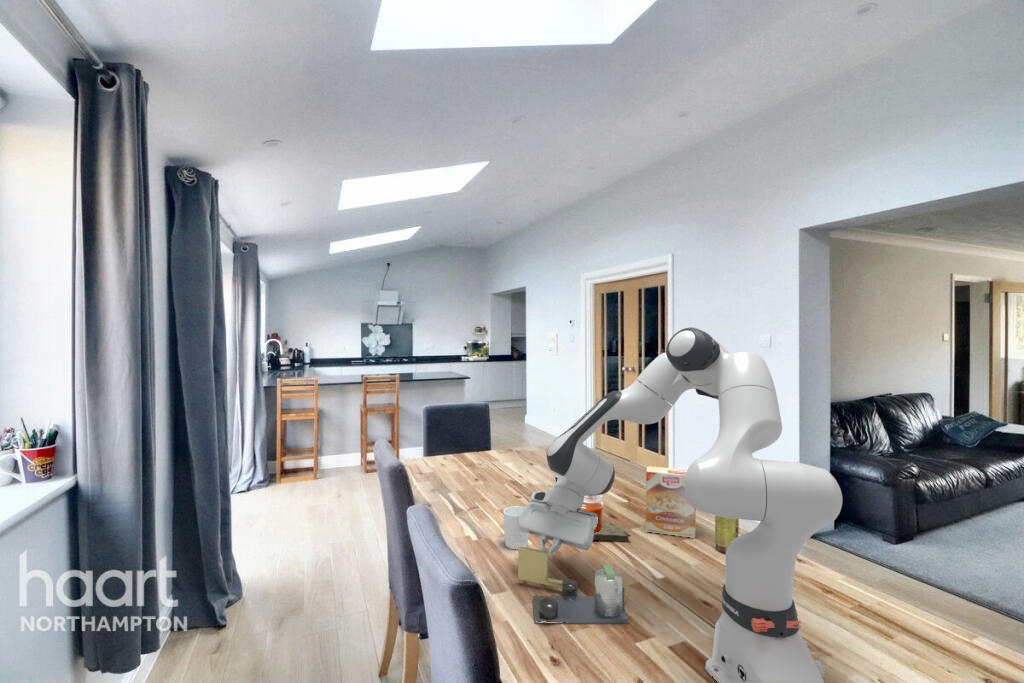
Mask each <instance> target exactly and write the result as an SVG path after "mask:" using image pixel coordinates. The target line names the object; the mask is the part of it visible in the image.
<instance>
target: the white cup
mask: <svg viewBox="0 0 1024 683" xmlns="http://www.w3.org/2000/svg"><path fill="white" fill-rule="evenodd" d="M524 508H525V506H518V505H517V506H508V507H506V508H504V509H503V530H504V531H503V533H504V545H505V547H506V548H508V549H511V550H515V549H516V550H517V551H518V548H519V547H520V546H521V547H527V548H528V546H529V536H530V534H528V533H524V532H522V531H521V529H520V528H519V526H518V520H519V517H520V515H521V513H522V511H523V509H524Z"/></svg>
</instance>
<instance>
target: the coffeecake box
mask: <svg viewBox="0 0 1024 683" xmlns="http://www.w3.org/2000/svg"><path fill="white" fill-rule="evenodd" d="M687 470H688V469H683V468H673V467H664V466H663V467H662V466H652V465H647V466H646V471H645V527H644V528H645V529H644V530H645V533H647V532H652V533H651V534H655V533H660V534H659V535H663V534H667V535H666V536H671V535H675V536H674V537H679V536H682V537H681V538H687V537H690V538H689V539H695V538H696V521H697V520H696V519H697V518H696V516H697V514H696V513H697V509H696V508H695V507H694V506H693V504H692V503H691V502H690V500H689V498H688V496H687V493H686V490H685V476H686V473H687Z"/></svg>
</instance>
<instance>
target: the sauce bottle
mask: <svg viewBox="0 0 1024 683" xmlns="http://www.w3.org/2000/svg"><path fill="white" fill-rule="evenodd" d="M739 520H740V519H734V518H725V517H720V516H716V515H714V521H715V522H714V526H715V527H714V534H715V536H714V538H715V539H714V540H715V541H714V543H715V548H716V550H717V551H718V552H721V553H723V554H726V550H727V547H728V546H729V544H730V543H731V542H732V541H733V540H734V539H735V538H737V537H739V536H740V535H739V534H740V531H739V530H740V529H739V528H740V527H739V525H740V521H739Z"/></svg>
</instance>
